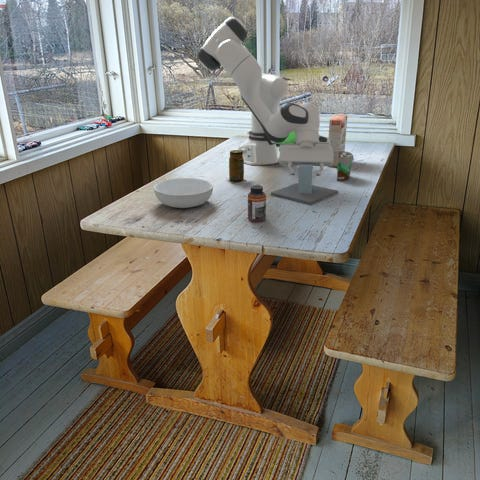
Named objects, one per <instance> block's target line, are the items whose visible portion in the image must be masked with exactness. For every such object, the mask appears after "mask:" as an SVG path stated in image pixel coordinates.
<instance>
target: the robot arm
mask: <svg viewBox="0 0 480 480" xmlns="http://www.w3.org/2000/svg"><path fill="white" fill-rule="evenodd" d="M247 37H248V30H247V28H246V26H245V23H243V21H242V20H240V19H239V18H236V17H234V16H230V17H228V18H227V19H225V20H224V22H223V23H221V24H220V26H218V27H217V28H215V30H214V31H213V32H212V33H211V35H210V36H209V37H208V38H207V40H206V41H205V42H204V43H203V45H202V46H200V48H199V50H198V51H197V58H198V61H199V63H200V65H201V66H202V67H203V68H205V69H206V70H207V71H208V70H209V71H210V72H215V71H218V70H221V67H222V68H223V70H224V71H225V72H226V74H227V75H229V77H230V78H231V80H233V82H234V84H235V85H236V86H237V88H238V90H239V94H240V97H241V99H242V101H243V102H244V103H245V105H246V107H247V108H248V109H249V110H250V112H251V130H250V131H247V134H246V135H248V138H247V139H246V140H245V141H244V142H242V143H241V144H240V145H239V146H238V148H237V150H241V151H242V152H243V158H244V164H246V165H248V166H249V165H250V166H256V165H259V166H261V165H274V164H276V163H279V165H280V166H287V167H288V170H289V172H290V176H295V174H296V171H295V168H293V167H294V166H295V167H296V166H297V167H299V164H313V167H319V168H318V169H316V170H315V171H316V172H315V173H316V175H315V176H316V177H320V176H321V172H322V171H323V170H324V167H330V166H332V165H333V160H334V157H333V149H332V147H331V142H330V138H329V137H326V136H324V135H320V134H319V130H320V122H321V121H320V118H321V117H320V111H319V109H318V107H317V106H316V105H315V104H313V103H312V102H303V103H301V104H300V103H299V104H296V103H294V102H290V101H289V102H285V103H283V104H281V106H280V102H281V101H282V100H283V99H284V98H285V97H286V95H287V93H288V84H287V81H286V80H285V79H284V78H282V77H281V76H278V75H277V74H271V73H270V74H269V73H264V72H263V71H262V68H261V65H260V63H259V61H258V60H257V59H256V58H255V57H254V55H252V54H251V52H250V51H249V50H248V48H247V47H245V46H244V44H243V43H244V42H245V41H246V39H247ZM279 106H280V107H279ZM292 131H293V132H295V133H296V140H295V141H294V142H290V143H287V142H284V143H282V144H281V145H280V144H279V147H278V150H277V144H276V142H277V143H280V142H283V141H285V140H286V139H287V137H288V136H289V135H290V133H291V132H292ZM278 152H279V154H278ZM278 155H279V156H278ZM330 168H331V167H330Z"/></svg>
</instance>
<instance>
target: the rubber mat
mask: <svg viewBox="0 0 480 480" xmlns="http://www.w3.org/2000/svg"><path fill="white" fill-rule="evenodd" d="M337 194H339V190H337V189H333V188H330V187H324V186H320V185H315V184H312V194H307V193H298V182H295V183H292V184H290V185H287V186H284V187H281V188H280V189H277V190H276V189H275V190H274V191H271V192H270V195H271V196H274V197H279V198H280V199H281V198H282V199H286V200H289V201H293V202H297V203H302V204H305V205H308V206H311V205H313V204H317V203H319V202H321V201H323V200H325V199H327V198H330V197H333V196H335V195H337Z"/></svg>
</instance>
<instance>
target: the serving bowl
mask: <svg viewBox="0 0 480 480" xmlns="http://www.w3.org/2000/svg"><path fill="white" fill-rule="evenodd" d="M153 191H154V195H155V197H156V198H157V200H158V201H159V202H160V203H161V204H163V205H165V206H169V207H170V208H171V207H172V208H176V209H177V208H178V209H185V208H186V209H190V208H194V207H197V206H201V205H203V204H205V203H206V202H207V201H208V200H209V199H210V198H211V197H212V195H213V191H214V185H213V183H212V182H211V181H208V180H204V179H203V178H195V177H194V178H193V177H184V178H183V177H180V178H171V179H170V178H169V179H166V180H163V181H160V182H158V183H156V184H155V185H153Z"/></svg>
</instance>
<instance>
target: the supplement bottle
mask: <svg viewBox="0 0 480 480" xmlns="http://www.w3.org/2000/svg"><path fill="white" fill-rule="evenodd" d="M249 189H250V191H249V192H248V193H247V219H248V221H250V222H252V223H261V222H263V221H265V220H266V219H267V218H266V217H267V195H266V193H265V191H264V186H263V185H262V184H253V185H251V186H250V188H249Z"/></svg>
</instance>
